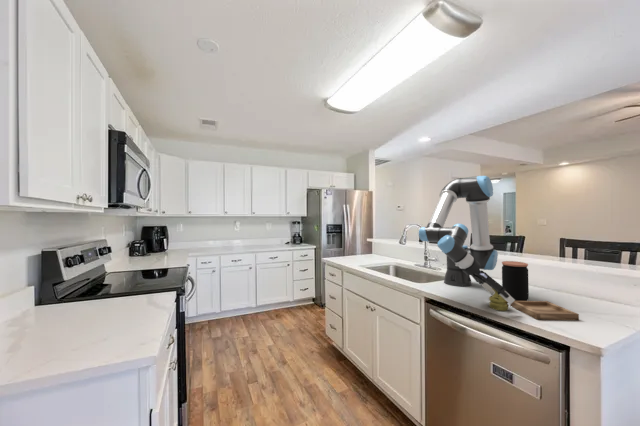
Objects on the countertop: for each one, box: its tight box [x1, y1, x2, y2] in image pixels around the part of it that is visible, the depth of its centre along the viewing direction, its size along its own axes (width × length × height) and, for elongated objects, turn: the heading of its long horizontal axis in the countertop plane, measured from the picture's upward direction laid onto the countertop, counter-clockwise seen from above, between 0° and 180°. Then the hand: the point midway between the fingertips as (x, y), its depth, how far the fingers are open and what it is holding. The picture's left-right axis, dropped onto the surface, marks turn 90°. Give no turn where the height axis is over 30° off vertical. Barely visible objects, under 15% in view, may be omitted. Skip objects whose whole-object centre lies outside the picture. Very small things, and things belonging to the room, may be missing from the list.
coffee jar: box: [501, 260, 530, 301], centre depth 133 cm, size 11×11×18 cm
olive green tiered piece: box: [488, 288, 510, 312], centre depth 120 cm, size 7×7×10 cm
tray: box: [510, 300, 580, 321], centre depth 114 cm, size 16×16×2 cm
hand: (502, 297), depth 119 cm, fingers open, 13 cm apart
